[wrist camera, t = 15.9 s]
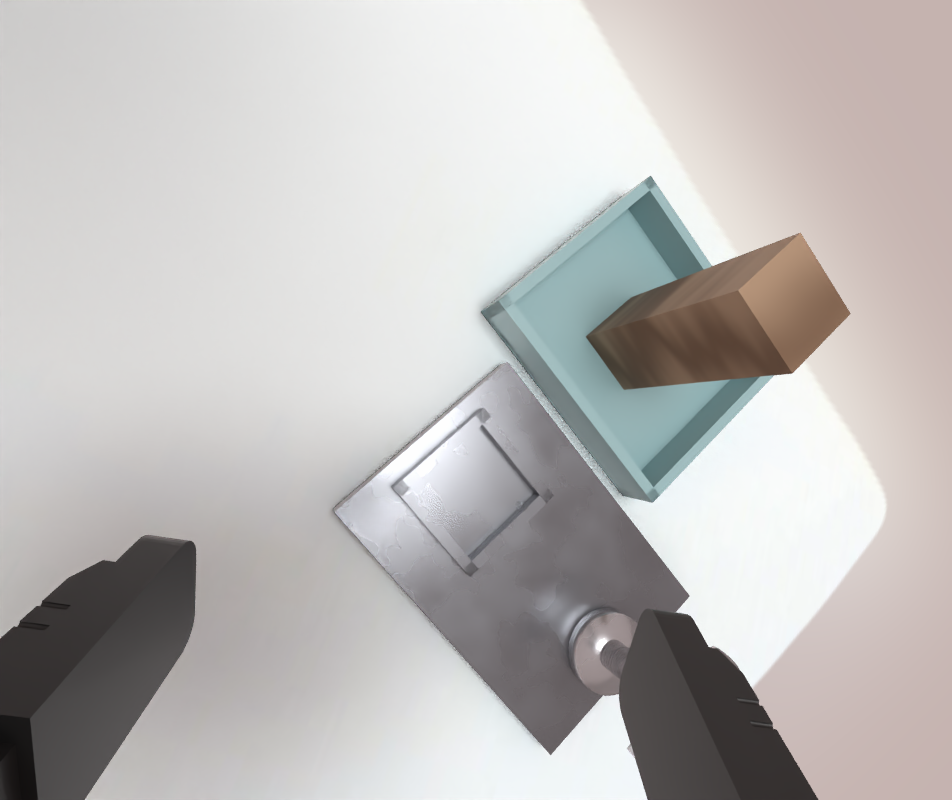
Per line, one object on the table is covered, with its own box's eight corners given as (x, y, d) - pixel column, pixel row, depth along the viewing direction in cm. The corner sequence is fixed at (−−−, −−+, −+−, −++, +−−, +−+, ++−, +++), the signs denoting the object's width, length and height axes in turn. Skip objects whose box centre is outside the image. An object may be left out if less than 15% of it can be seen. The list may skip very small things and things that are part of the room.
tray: (480, 311, 31) (498, 300, 28) (621, 196, 34) (650, 175, 31) (622, 495, 33) (652, 502, 31) (743, 372, 36) (780, 368, 34)
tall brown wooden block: (585, 336, 32) (738, 290, 21) (631, 297, 33) (800, 232, 22) (623, 389, 33) (792, 373, 22) (667, 349, 34) (850, 313, 23)
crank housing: (333, 508, 28) (344, 545, 20) (500, 364, 31) (572, 343, 23) (543, 745, 31) (632, 865, 23) (678, 592, 34) (801, 648, 26)
